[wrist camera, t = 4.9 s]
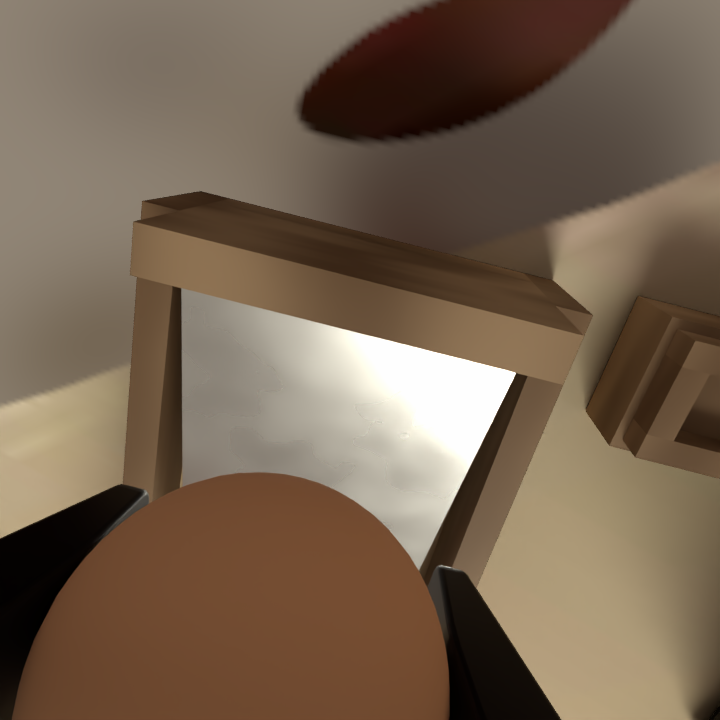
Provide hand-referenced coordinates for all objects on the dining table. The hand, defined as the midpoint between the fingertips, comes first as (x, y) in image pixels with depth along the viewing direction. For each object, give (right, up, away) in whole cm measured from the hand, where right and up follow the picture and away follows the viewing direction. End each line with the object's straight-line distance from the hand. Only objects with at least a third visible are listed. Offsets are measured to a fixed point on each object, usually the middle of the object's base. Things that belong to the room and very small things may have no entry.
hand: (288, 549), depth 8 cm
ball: (0, -1, -2) cm, 2 cm away
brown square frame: (+12, +2, +10) cm, 16 cm away
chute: (0, 0, +11) cm, 11 cm away
